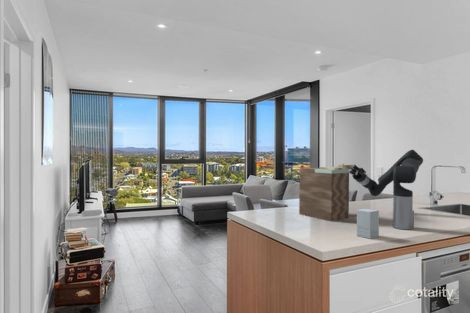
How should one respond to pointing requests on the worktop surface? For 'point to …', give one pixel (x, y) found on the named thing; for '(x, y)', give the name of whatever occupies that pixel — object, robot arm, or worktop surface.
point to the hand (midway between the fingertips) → (347, 165)
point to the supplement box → (368, 223)
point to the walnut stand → (324, 193)
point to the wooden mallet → (339, 167)
